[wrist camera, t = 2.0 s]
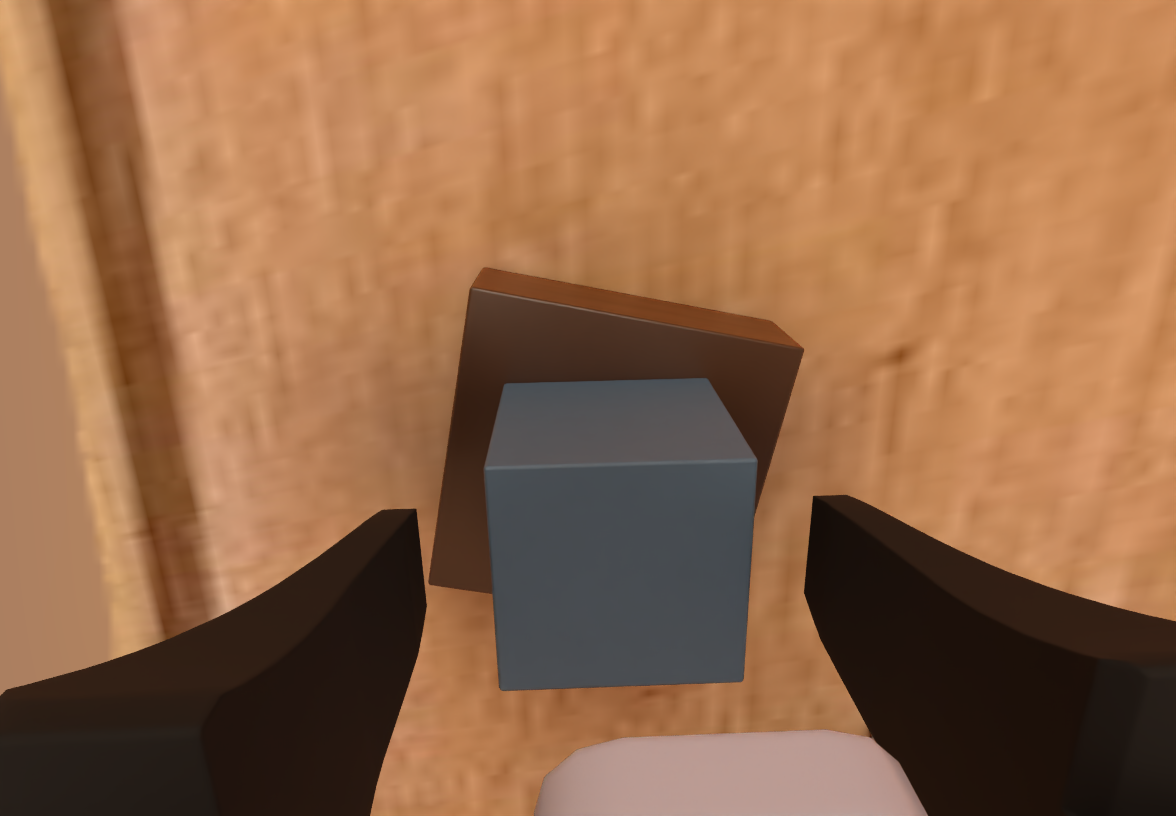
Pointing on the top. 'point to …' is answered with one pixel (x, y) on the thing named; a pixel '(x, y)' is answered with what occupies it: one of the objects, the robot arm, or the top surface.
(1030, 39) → the top surface
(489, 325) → the walnut tile
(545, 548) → the grey cube
